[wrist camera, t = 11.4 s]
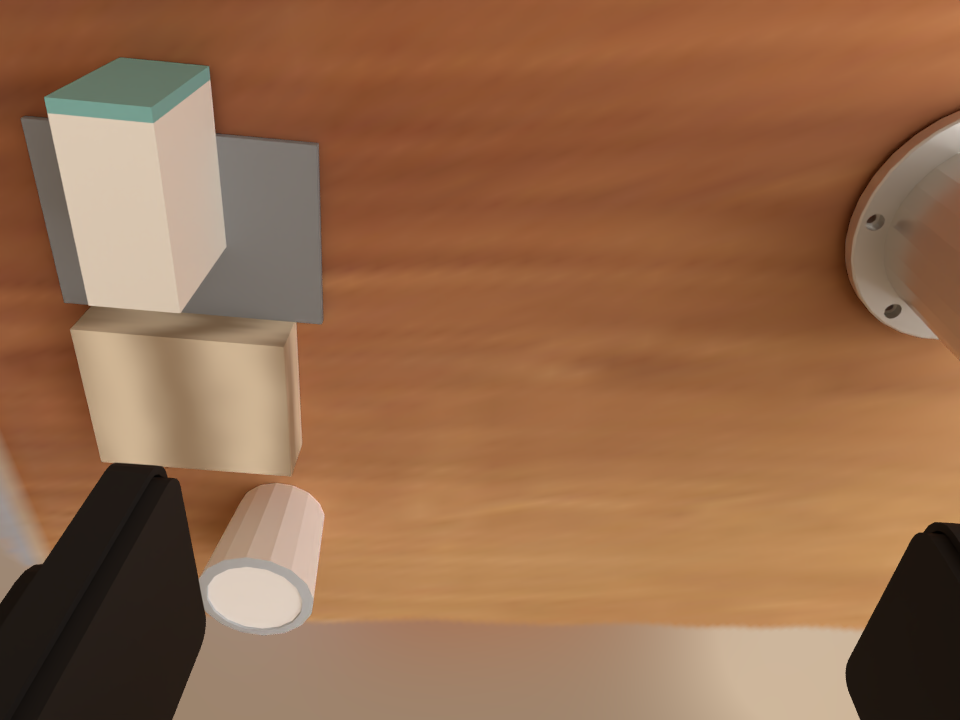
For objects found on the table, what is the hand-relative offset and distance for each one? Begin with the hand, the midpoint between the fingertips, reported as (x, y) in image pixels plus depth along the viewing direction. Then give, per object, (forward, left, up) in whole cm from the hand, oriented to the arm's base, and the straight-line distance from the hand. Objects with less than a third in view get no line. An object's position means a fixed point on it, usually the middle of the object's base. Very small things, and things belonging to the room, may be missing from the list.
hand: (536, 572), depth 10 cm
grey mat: (+16, +9, -30) cm, 35 cm away
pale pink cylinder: (+12, +30, -30) cm, 44 cm away
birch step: (+16, +19, -30) cm, 39 cm away
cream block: (+16, +10, -26) cm, 32 cm away
